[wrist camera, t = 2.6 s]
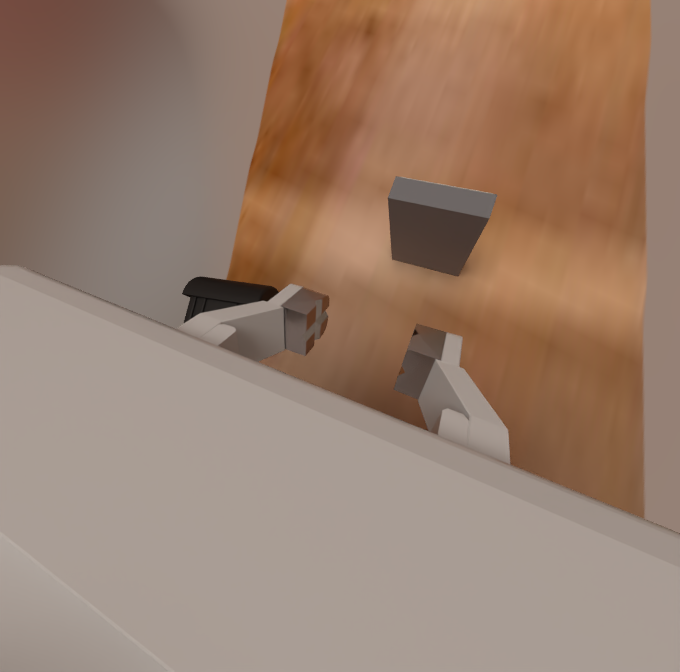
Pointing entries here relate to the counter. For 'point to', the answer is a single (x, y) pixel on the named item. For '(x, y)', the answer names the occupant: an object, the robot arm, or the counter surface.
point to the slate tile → (436, 223)
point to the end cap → (222, 294)
